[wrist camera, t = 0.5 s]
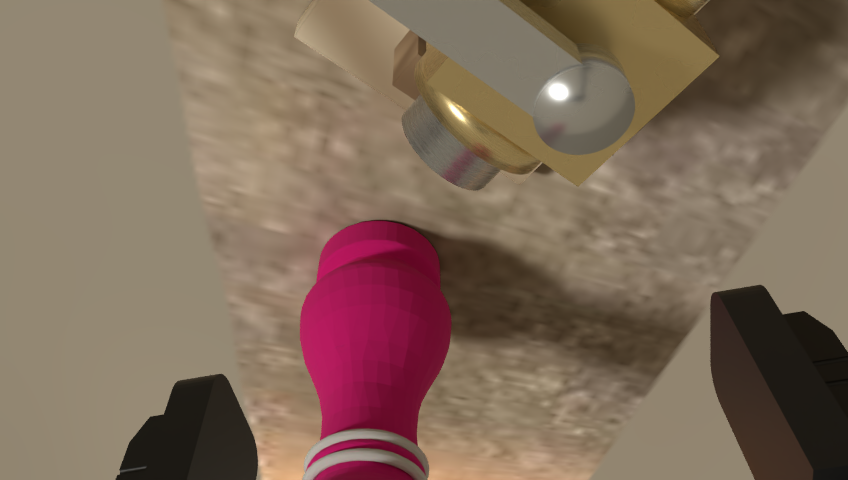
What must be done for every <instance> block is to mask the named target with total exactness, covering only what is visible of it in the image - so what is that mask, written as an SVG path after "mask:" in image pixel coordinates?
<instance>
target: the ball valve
mask: <svg viewBox="0 0 848 480" xmlns="http://www.w3.org/2000/svg"><path fill="white" fill-rule="evenodd" d="M520 1H521V2H522V3H523V4H525V5H526V6H527V7H529V8H530V9H531V10H532V11H534V12H535V13H536V14H538V15H539V16H540V17H541V18H543V19H544V20H545V21H547V22H548V23H549V24H550V25H552V26H553V27H554V28H556V29H557V30H558V31H559V32H561V33H562V34H563V35H565V36H566V37H567V38H568V39H570V40H571V41H572V42H574V43H575V44H576V43H589V44H594V45H598V46H601V47H603V48H605V49H607V50H608V51H610V52H611V53H613V54H614V55H615V56H616V57H617V59H618V60H619V61H620V63H621V65H622V67H623V69H624V72H625V74H626V77H627V79H628V82H629V84H630V87H631V89H632V92H633V95H634V99H635V113H634V116H633V119H632V122H631V124H630V126H629V128H628V129H627V131H626V132H625V133H624V134H623V135H622V137H621V138H620V139H618V140H617V141H616V142H615V143H613V144H612V145H610V146H609V147H607V148H605V149H603V150H600V151H598V152H594V153H591V154H585V155H571V154H565V153H562V152H559V151H557V150H554V149H553V148H551V147H549V146H548V145H547V144H546V143H545V142H544V141H543V140H542V139H541V138H540V136H539V135H538V133H537V131H536V129H535V125H534V121H533V117H532V116H531V115H529V114H528V113H527V112H525V111H524V110H522V109H521V108H520V107H518V106H517V105H515V104H514V103H513V102H511V101H510V100H508V99H507V98H505V97H504V96H503V95H501V94H500V93H498V92H497V91H496V90H494V89H493V88H491V87H490V86H489V85H487V84H486V83H484V82H483V81H482V80H480V79H479V78H477V77H476V76H474V75H473V74H472V73H470V72H469V71H467V70H466V69H465V68H463V67H462V66H460V65H459V64H458V63H456V62H455V61H453V60H452V59H450V58H449V57H448V56H446V55H445V54H443V53H442V52H441V51H439V50H438V49H436V48H435V47H434V46H432V45H431V44H429V43H428V42H427V41H426V53H425V54H424V55H423V56H422V57H421V59H420V60H419V61H418V62H417V63H416V66H415V69H414V76H415V81H416V84H417V87H418V89H419V92H420V95H419V96H418V98H417V99H416V100H415V101H414V102H413V103H412V105H411V106H410V107H409V108H408V109H407V110H406V112H405V113H404V114H403V116H402V126H403V130H404V133H405V135H406V137H407V139H408V141H409V143H410V144H411V146H412V147H413V149H414V150H415V151H416V153H417V154H418V155H419V156H420V158H421V159H422V160H423V161H424V162H425V163H426V164H427V165H428V166H429V167H430V168H431V169H433V170H434V171H435V172H436V173H437V174H439V175H440V176H441V177H443V178H444V179H446V180H447V181H449V182H451V183H452V184H454V185H456V186H459V187H461V188H464V189H467V190H481V189H482V188H484V187H485V186H486V185H487V184H488V183H489V182H490V181H491V180H492V179H493V178H494V177H495V176H496V175H497V174H498V173H499V172H500V171H501V170H503V171H506V172H509V173H512V174H518V175H524V174H528V173H530V172H532V171H533V170H534V169H535V168H536V167H537V166H538V165H539V164H540V163H541V162H543V163H544V164H545V165H547V166H548V167H550V168H551V169H553V170H554V171H556V172H557V173H559V174H560V175H562V176H563V177H564V178H566V179H567V180H569V181H570V182H572V183H573V184H575V185H576V186H579V185H580V184H581V183H583V182H584V181H585V180H586V179H587V178H588V177H589V176H590V175H591V174H592V173H593V172H595V171H596V170H597V169H598V168H599V167H600V166H601V165H602V164H603V163H604V162H605V161H606V160H608V159H609V158H610V157H611V156H612V155H613V154H614V153H615V152H616V151H617V150H618V149H620V148H621V147H622V146H623V145H624V144H625V143H626V142H627V141H628V140H629V139H630V138H631V137H633V136H634V135H635V134H636V133H637V132H638V131H639V130H640V129H641V128H642V127H643V126H645V125H646V124H647V123H648V122H649V121H650V120H651V119H652V118H653V117H654V116H655V115H657V114H658V113H659V112H660V111H661V110H662V109H663V108H664V107H665V106H666V105H667V104H668V103H670V102H671V101H672V100H673V99H674V98H675V97H676V96H677V95H678V94H679V93H680V92H682V91H683V90H684V89H685V88H686V87H687V86H688V85H689V84H690V83H691V82H692V81H693V80H695V79H696V78H697V77H698V76H699V75H700V74H701V73H702V72H703V71H704V70H705V69H707V68H708V67H709V66H710V65H711V64H712V63H713V62H714V61H715V60H716V59H717V58H719V57H720V56H719V54H718V53H717V51H716V49H715V48H714V46H713V44H712V43H711V41H710V40H709V38H708V36H707V35H706V33H705V31H704V30H703V28H702V27H701V25H700V23H699V22H698V20H697V18H696V17H695V15H694V13H695V12H696V11H697V10H698V9H699V8H700V7H701V6H702V5H703V4H704V3H705V2H706V1H707V0H520Z"/></svg>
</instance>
